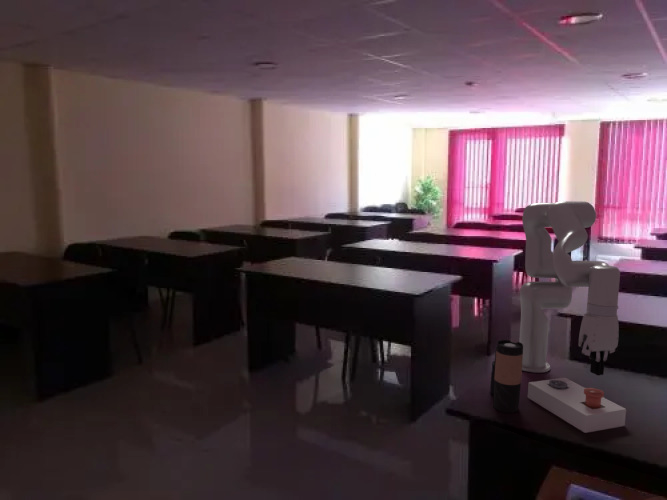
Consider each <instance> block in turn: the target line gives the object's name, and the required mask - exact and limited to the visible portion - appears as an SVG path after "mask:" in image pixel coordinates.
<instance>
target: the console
mask: <svg viewBox="0 0 667 500" xmlns="http://www.w3.org/2000/svg"><path fill="white" fill-rule="evenodd" d="M551 380H560V381H564V382H566V383H567V388H566V389H560V390H556V389H555V388H553V387H551V386H550V385H549V381H551ZM527 386H528V388H527V398H528V399H529V400H531V401H533V402H534V403H536V404H537V405H539V406H541V407H542V408H544V409H546V410H547V411H549V412H551V414H554V415H555V416H557V417H559V418H560V419H562V421H565V422H567V423H568V424H569V425H572V426H573V427H574V428H576V429H578V430H579V431H581V432H583V433H584V434H585V433H593V432H597V431H604V430H609V429H615V428H620V427H625V424H626V415H627V409H626V408H625V407H623V406H622V405H619V404H617V403H615V402H613V401H611V400H609V399H607V398H605V396H604V397H603V398H601V407H600V408H599V409H591V408H589V407H587V406H585V399H586V395H585V394H584V389H585V388H586V387H585V386H582V385H580V384H578V383H577V382H574V381H572V380H570V379H569V378H566V377H560V378H553V379H545V380H537V381H530V382H528V385H527Z"/></svg>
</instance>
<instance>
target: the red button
mask: <svg viewBox="0 0 667 500" xmlns="http://www.w3.org/2000/svg"><path fill="white" fill-rule="evenodd" d="M584 388H585V389H584V394H585V395H586V399H585V406H587V407H589V408H591V409H599V408H600V407H601V398H603V397H604V398H605V392H604V391H603V390H601V389H598V388H594V387H584Z"/></svg>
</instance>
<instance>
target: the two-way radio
mask: <svg viewBox="0 0 667 500" xmlns="http://www.w3.org/2000/svg"><path fill="white" fill-rule="evenodd" d="M496 350H497V346H495V352H494V353H495V354H494V360H493V361H492V362H491V374H490V375H491V376H490V386H489V387H490V388H489V390H490V394H491V395H494V377H495V363H496Z"/></svg>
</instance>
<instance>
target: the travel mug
mask: <svg viewBox="0 0 667 500" xmlns="http://www.w3.org/2000/svg"><path fill="white" fill-rule="evenodd" d="M496 347H497V350H496V349H495V352H496V363H495V377H494V394H493V408H495V409H496V410H498V411H499V412H503V413H515V412H518V410H519V405H520V397H521V386H522V375H523V374H522V373H523V372H522V371H523V370H522V359H523V344H522V343H520V342H519V341H517V342H513V341H511V340H509V339H502V340H501V339H500V340H498V341H497V342H496Z"/></svg>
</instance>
